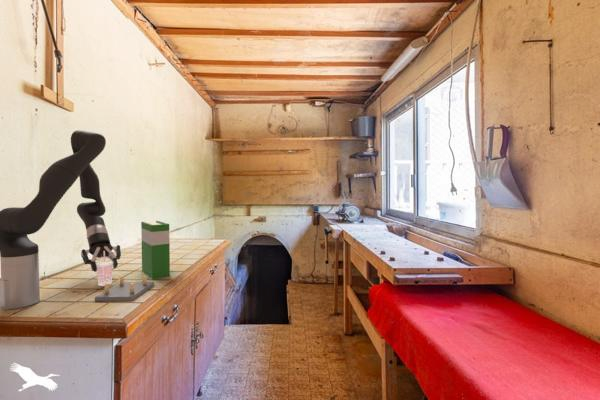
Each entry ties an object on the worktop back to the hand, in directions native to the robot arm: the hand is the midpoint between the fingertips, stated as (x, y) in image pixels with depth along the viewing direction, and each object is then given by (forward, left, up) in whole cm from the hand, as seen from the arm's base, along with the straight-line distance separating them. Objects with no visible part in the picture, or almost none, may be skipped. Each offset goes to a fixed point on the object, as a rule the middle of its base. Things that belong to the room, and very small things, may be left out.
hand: (105, 268), depth 114 cm
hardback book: (+20, -1, -7) cm, 22 cm away
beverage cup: (0, +2, -7) cm, 7 cm away
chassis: (0, -16, -7) cm, 18 cm away
